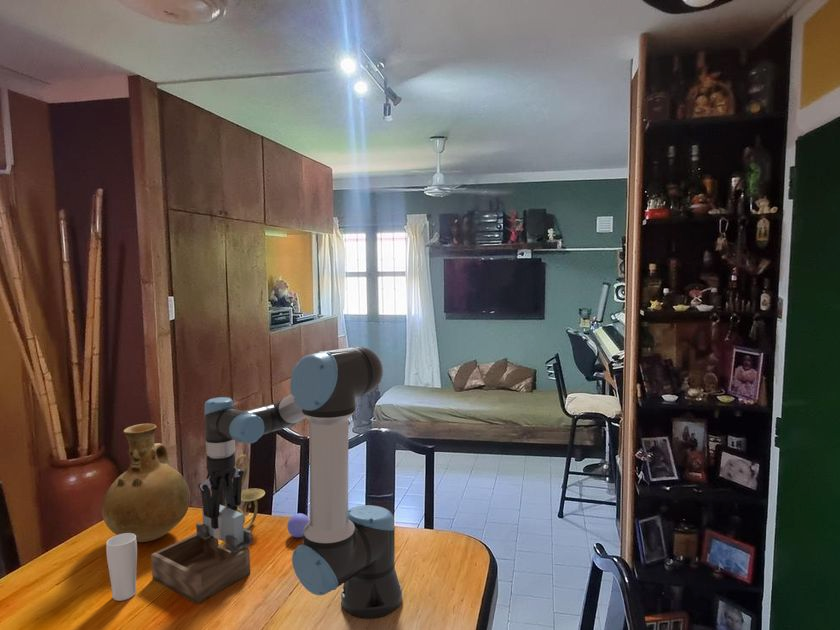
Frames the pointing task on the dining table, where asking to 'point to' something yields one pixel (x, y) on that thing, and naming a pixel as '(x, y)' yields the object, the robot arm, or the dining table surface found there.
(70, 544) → the dining table surface
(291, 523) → the sphere
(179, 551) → the box
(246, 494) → the wall sconce
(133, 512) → the vase
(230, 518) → the door
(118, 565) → the drinking glass
